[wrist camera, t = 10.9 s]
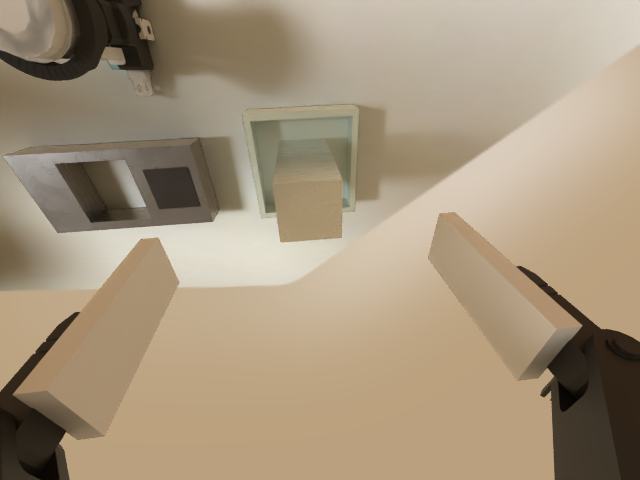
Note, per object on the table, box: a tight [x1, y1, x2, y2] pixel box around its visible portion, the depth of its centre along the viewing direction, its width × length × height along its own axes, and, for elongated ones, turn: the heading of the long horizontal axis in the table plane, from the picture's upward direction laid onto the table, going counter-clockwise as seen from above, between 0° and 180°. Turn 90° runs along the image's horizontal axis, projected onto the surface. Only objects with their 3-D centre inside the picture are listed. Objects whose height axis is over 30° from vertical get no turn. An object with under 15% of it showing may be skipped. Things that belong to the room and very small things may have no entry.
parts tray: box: [242, 104, 359, 218], centre depth 23 cm, size 9×9×2 cm
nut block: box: [272, 138, 343, 242], centre depth 20 cm, size 4×4×10 cm
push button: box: [0, 0, 154, 96], centre depth 15 cm, size 7×5×10 cm
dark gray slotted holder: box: [3, 138, 219, 233], centre depth 23 cm, size 14×7×3 cm, turn 92°
